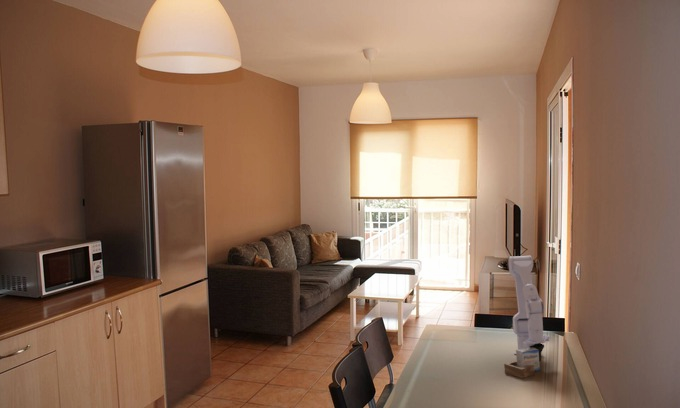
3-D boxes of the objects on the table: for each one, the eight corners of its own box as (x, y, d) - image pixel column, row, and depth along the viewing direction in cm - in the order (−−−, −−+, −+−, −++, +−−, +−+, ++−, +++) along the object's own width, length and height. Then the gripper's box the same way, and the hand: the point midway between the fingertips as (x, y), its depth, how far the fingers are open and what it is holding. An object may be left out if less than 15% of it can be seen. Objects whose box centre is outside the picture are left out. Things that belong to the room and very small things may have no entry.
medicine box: (523, 373, 218) (522, 352, 218) (516, 370, 223) (515, 349, 222) (540, 370, 220) (538, 349, 220) (533, 367, 225) (532, 346, 224)
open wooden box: (516, 368, 224) (516, 360, 224) (534, 374, 217) (534, 365, 217) (504, 372, 221) (504, 364, 220) (522, 378, 213) (522, 369, 213)
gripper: (532, 333, 217) (533, 367, 217) (554, 327, 225) (556, 359, 225) (517, 330, 223) (519, 363, 223) (540, 324, 231) (542, 355, 231)
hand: (537, 361), depth 224 cm, fingers closed
